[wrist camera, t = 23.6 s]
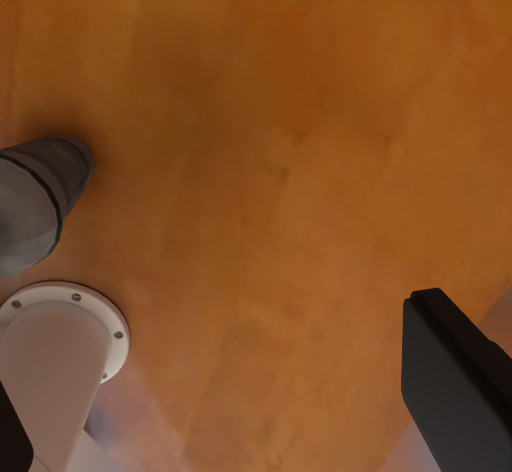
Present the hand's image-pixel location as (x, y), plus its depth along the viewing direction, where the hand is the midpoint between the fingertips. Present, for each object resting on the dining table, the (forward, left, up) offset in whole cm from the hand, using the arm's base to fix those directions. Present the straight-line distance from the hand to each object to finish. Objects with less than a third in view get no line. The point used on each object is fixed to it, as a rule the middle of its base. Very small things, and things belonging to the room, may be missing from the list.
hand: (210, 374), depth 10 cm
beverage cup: (-13, -1, -27) cm, 30 cm away
